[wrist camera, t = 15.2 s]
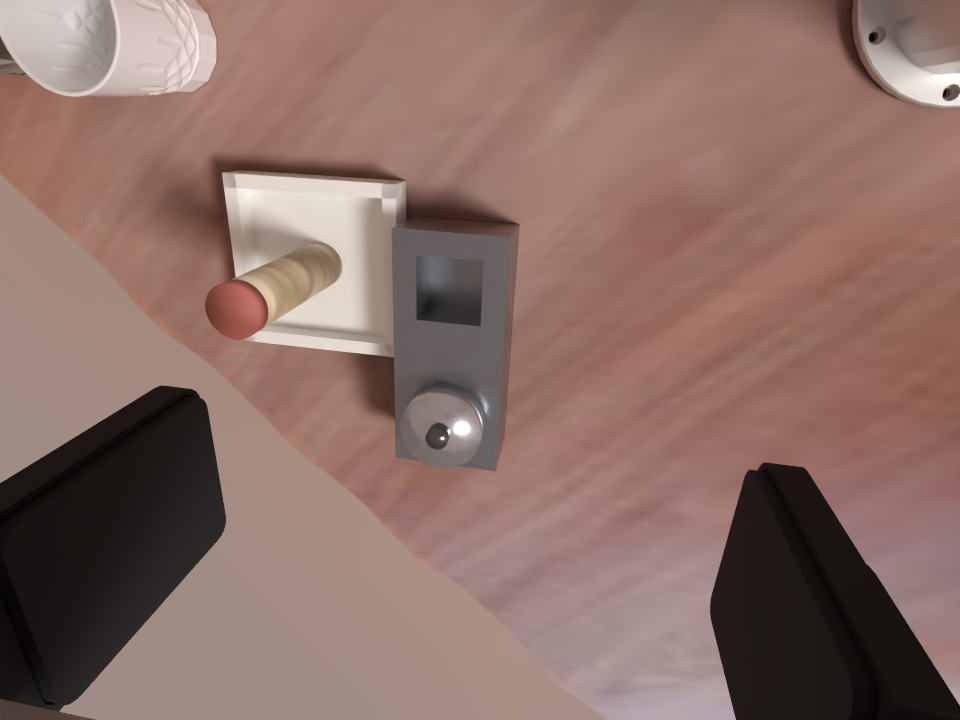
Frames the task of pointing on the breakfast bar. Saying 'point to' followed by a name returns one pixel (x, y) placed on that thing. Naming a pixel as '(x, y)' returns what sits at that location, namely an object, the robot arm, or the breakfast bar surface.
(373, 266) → the tray
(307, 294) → the lock pin
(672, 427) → the breakfast bar surface
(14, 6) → the white cup
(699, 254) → the breakfast bar surface
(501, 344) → the block
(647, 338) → the breakfast bar surface
